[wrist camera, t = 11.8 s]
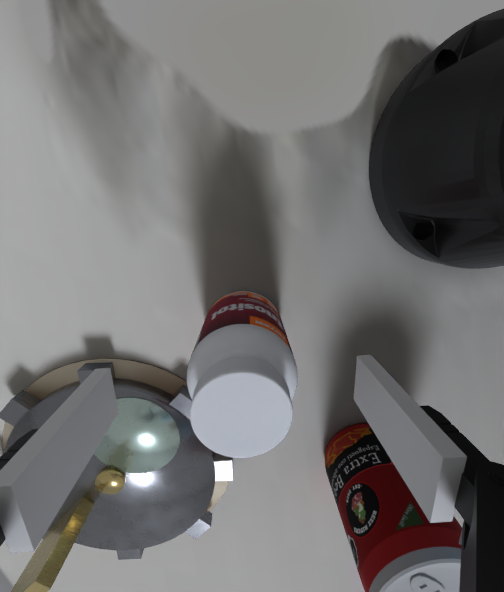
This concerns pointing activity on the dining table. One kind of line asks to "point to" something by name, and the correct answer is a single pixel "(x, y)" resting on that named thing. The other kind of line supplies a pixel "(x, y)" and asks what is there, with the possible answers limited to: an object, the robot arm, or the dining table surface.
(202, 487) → the sprocket
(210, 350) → the pill bottle
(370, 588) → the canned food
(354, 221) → the dining table surface
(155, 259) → the dining table surface
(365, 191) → the dining table surface
